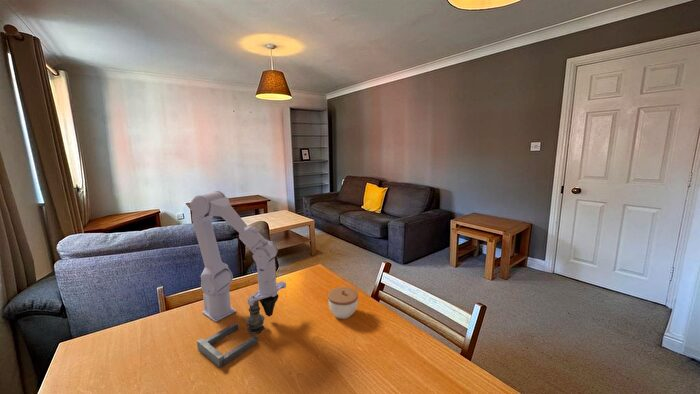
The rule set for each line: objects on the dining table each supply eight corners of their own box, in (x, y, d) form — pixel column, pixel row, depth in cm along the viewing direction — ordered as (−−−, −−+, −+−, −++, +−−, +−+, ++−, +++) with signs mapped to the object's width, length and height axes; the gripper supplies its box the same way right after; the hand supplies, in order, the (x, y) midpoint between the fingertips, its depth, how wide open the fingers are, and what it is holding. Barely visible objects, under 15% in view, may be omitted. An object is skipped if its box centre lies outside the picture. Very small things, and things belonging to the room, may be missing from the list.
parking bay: (197, 349, 85) (196, 340, 85) (235, 327, 95) (235, 319, 95) (219, 368, 78) (218, 358, 78) (258, 342, 88) (257, 334, 88)
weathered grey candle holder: (259, 336, 91) (257, 302, 89) (242, 333, 92) (240, 300, 90) (268, 324, 97) (266, 292, 94) (252, 322, 98) (250, 290, 95)
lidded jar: (358, 306, 108) (359, 283, 106) (356, 324, 97) (357, 299, 95) (330, 304, 109) (330, 281, 107) (325, 322, 98) (325, 297, 97)
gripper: (256, 290, 88) (258, 330, 90) (291, 273, 99) (292, 308, 102) (242, 284, 92) (245, 321, 94) (277, 268, 103) (279, 302, 106)
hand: (269, 314), depth 98 cm, fingers closed
